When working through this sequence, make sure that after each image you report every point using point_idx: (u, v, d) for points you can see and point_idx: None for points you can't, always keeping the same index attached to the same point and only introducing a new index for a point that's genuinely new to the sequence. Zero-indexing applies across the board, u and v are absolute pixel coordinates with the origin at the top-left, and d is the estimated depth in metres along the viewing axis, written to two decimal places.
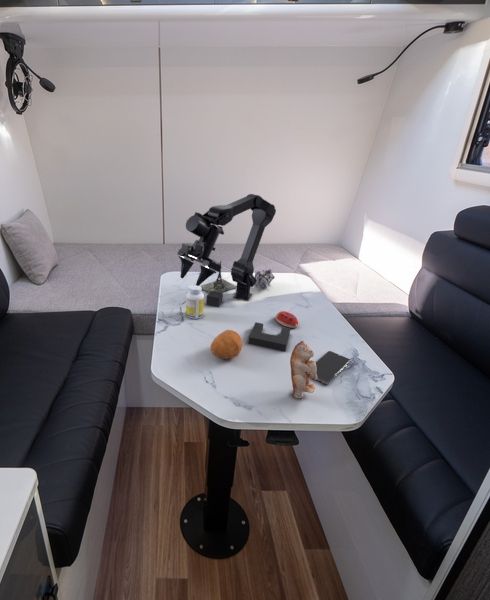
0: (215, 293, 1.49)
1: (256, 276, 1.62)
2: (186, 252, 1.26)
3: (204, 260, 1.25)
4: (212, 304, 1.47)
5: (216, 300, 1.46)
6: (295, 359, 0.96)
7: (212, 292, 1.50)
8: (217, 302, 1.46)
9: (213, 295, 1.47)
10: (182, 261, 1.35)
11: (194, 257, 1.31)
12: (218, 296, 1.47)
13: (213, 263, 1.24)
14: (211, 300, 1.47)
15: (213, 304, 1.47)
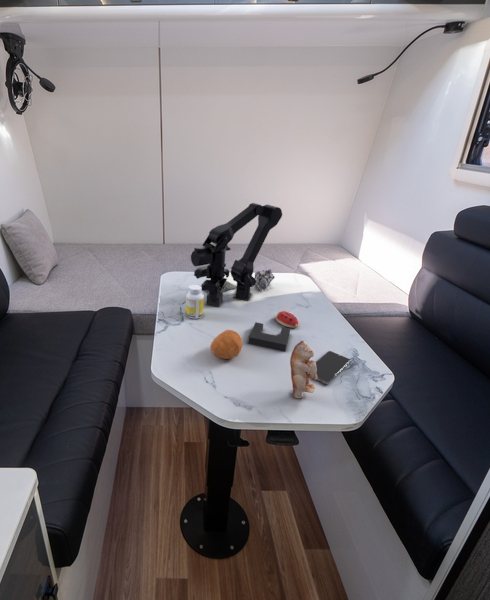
0: None
1: (256, 276, 1.62)
2: None
3: None
4: (212, 304, 1.47)
5: (216, 300, 1.46)
6: (295, 359, 0.96)
7: None
8: (217, 302, 1.46)
9: None
10: None
11: None
12: (218, 296, 1.47)
13: (204, 285, 1.38)
14: None
15: (213, 304, 1.47)
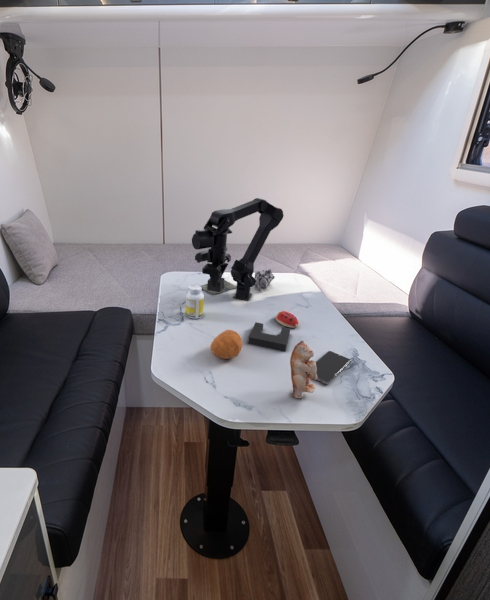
0: None
1: (256, 276, 1.62)
2: None
3: None
4: (213, 289, 1.44)
5: (217, 285, 1.43)
6: (295, 359, 0.96)
7: None
8: (218, 287, 1.43)
9: None
10: None
11: None
12: (219, 281, 1.44)
13: (205, 269, 1.35)
14: (211, 285, 1.44)
15: (214, 289, 1.44)
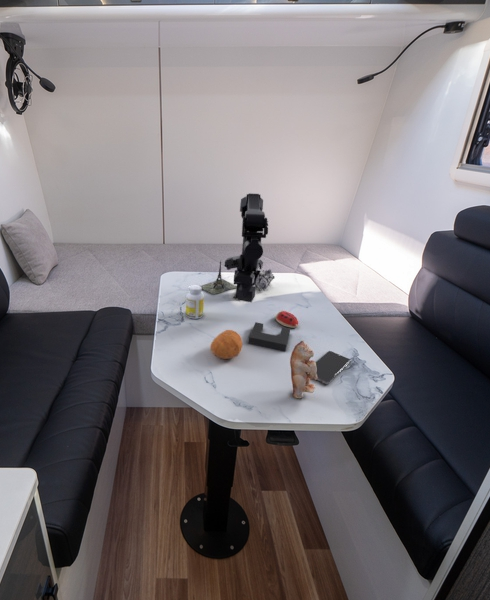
0: None
1: None
2: None
3: None
4: (244, 299, 1.31)
5: (249, 294, 1.29)
6: (295, 359, 0.96)
7: None
8: (250, 297, 1.29)
9: None
10: None
11: None
12: (251, 290, 1.30)
13: (237, 277, 1.21)
14: (242, 294, 1.30)
15: (245, 299, 1.30)
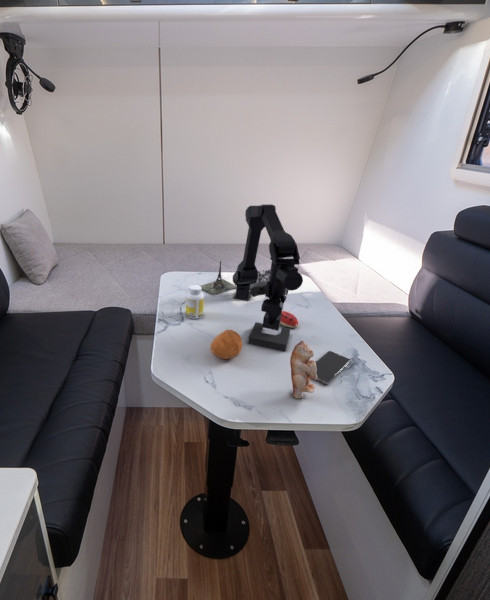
0: None
1: None
2: None
3: (263, 302, 1.17)
4: (270, 327, 1.24)
5: (275, 322, 1.22)
6: (295, 359, 0.96)
7: None
8: (276, 325, 1.22)
9: None
10: None
11: None
12: None
13: (265, 306, 1.14)
14: (268, 322, 1.23)
15: (271, 327, 1.23)
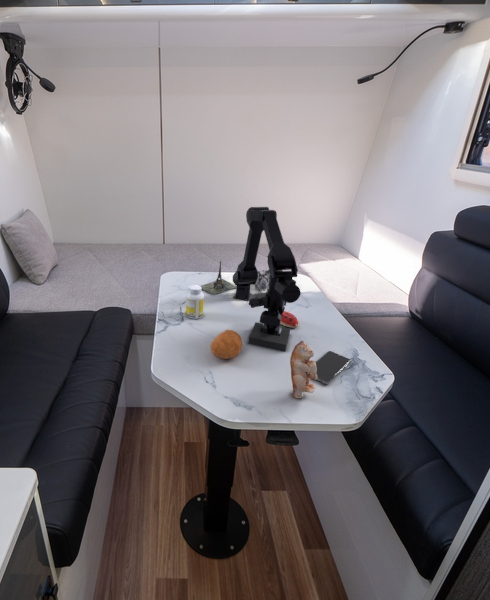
0: None
1: None
2: None
3: (261, 314, 1.19)
4: None
5: (274, 333, 1.24)
6: (295, 359, 0.96)
7: None
8: None
9: None
10: None
11: None
12: (276, 328, 1.25)
13: (264, 318, 1.16)
14: (267, 333, 1.25)
15: None
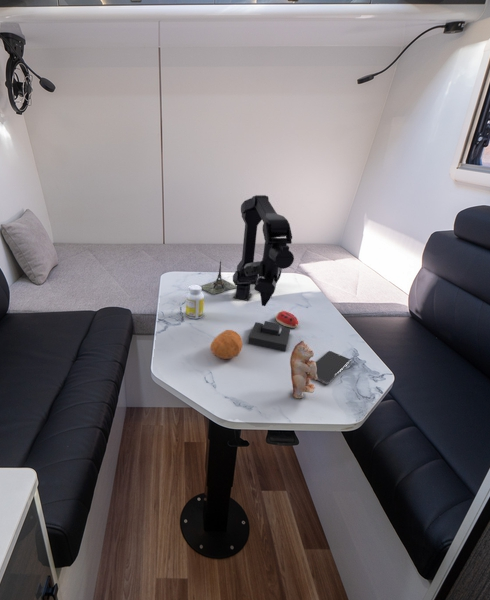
0: (271, 324, 1.27)
1: None
2: None
3: (256, 281, 1.20)
4: None
5: (274, 333, 1.24)
6: (295, 359, 0.96)
7: (267, 323, 1.28)
8: None
9: (270, 327, 1.25)
10: None
11: None
12: (276, 328, 1.25)
13: (259, 285, 1.17)
14: (267, 333, 1.25)
15: None
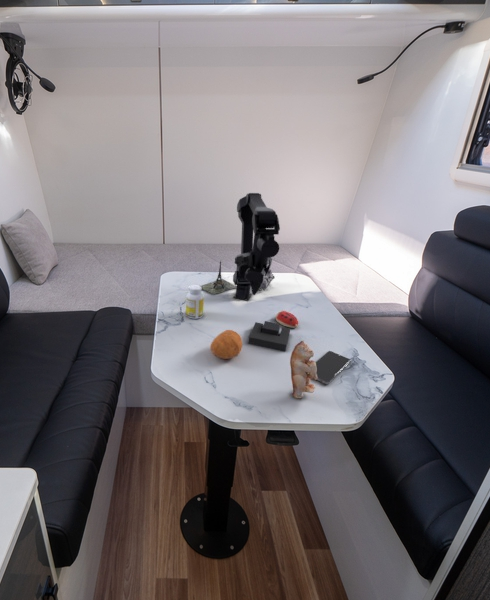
0: (271, 324, 1.27)
1: None
2: None
3: None
4: None
5: (274, 333, 1.24)
6: (295, 359, 0.96)
7: (267, 323, 1.28)
8: None
9: (270, 327, 1.25)
10: None
11: None
12: (276, 328, 1.25)
13: (248, 274, 1.22)
14: (267, 333, 1.25)
15: None
